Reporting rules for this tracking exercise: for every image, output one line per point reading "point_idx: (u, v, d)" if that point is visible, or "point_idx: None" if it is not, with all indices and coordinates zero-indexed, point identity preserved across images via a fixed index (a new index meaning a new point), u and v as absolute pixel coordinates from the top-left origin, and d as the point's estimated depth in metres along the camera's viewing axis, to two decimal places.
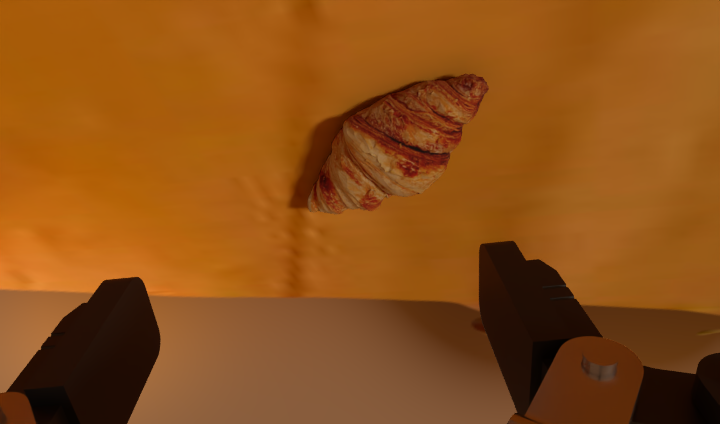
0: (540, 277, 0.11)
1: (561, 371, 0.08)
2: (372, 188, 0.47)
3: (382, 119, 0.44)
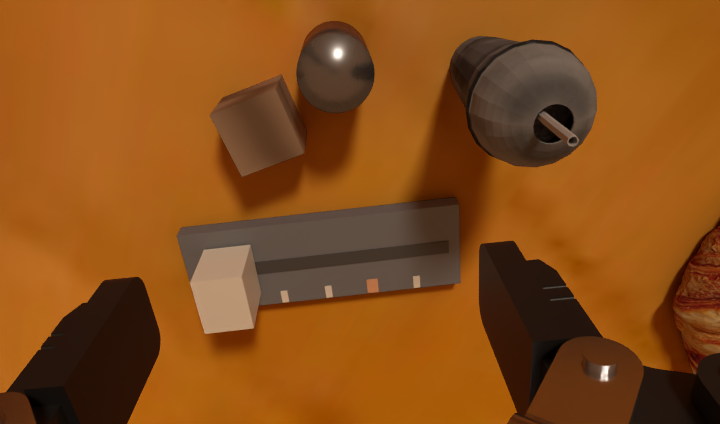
0: (539, 277, 0.11)
1: (561, 371, 0.08)
2: None
3: (703, 288, 0.47)
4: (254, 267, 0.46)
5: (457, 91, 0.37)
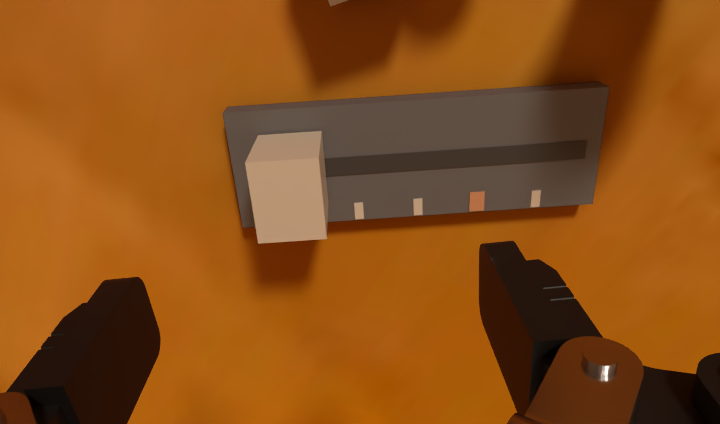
0: (540, 277, 0.11)
1: (561, 371, 0.08)
2: None
3: None
4: (324, 164, 0.34)
5: None
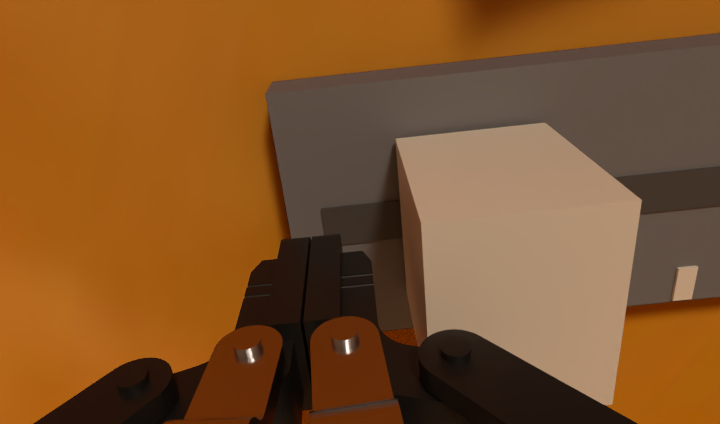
0: (353, 266, 0.12)
1: (321, 359, 0.09)
2: None
3: None
4: None
5: None
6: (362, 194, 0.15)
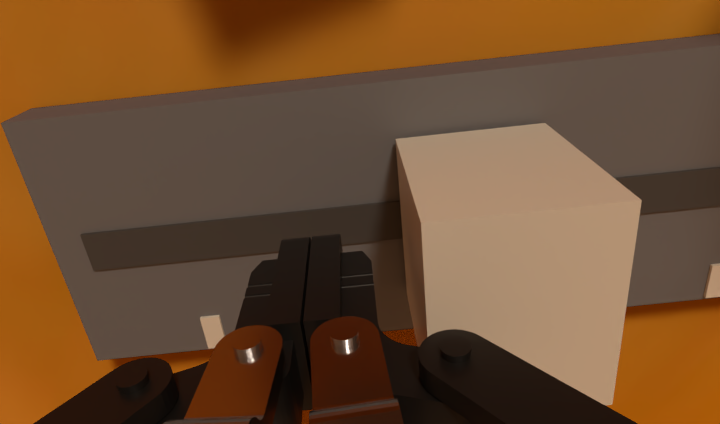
0: (353, 266, 0.12)
1: (321, 359, 0.09)
2: None
3: None
4: None
5: None
6: (119, 220, 0.15)
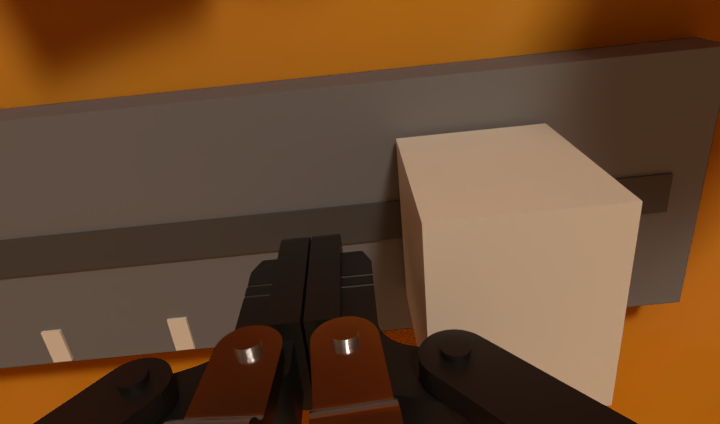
0: (353, 266, 0.12)
1: (321, 359, 0.09)
2: None
3: None
4: None
5: None
6: None
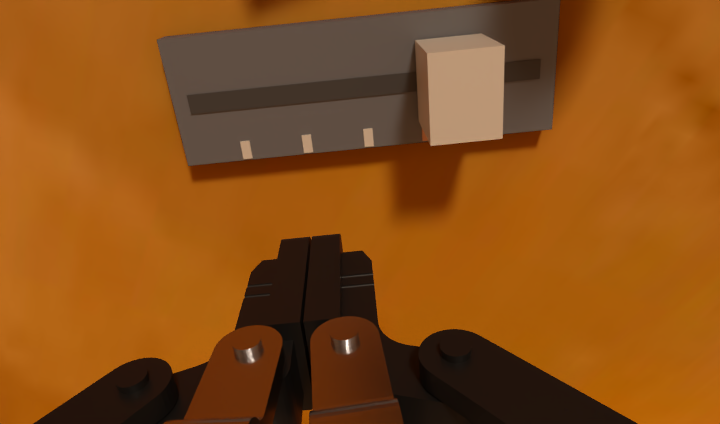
0: (353, 266, 0.12)
1: (321, 359, 0.09)
2: None
3: None
4: None
5: None
6: (205, 88, 0.33)
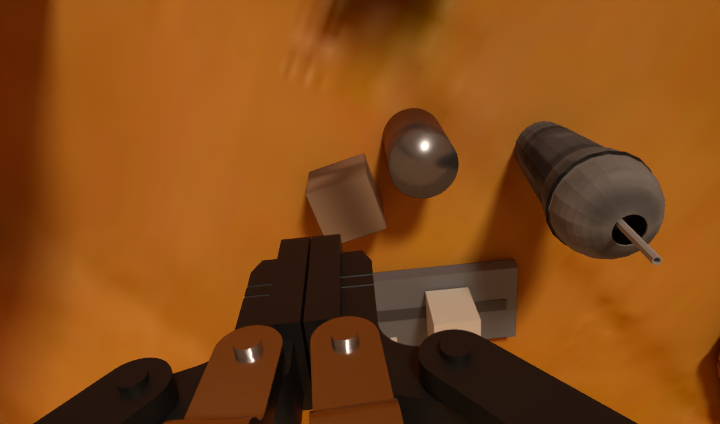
0: (353, 267, 0.12)
1: (321, 359, 0.09)
2: None
3: None
4: None
5: (526, 175, 0.42)
6: None
